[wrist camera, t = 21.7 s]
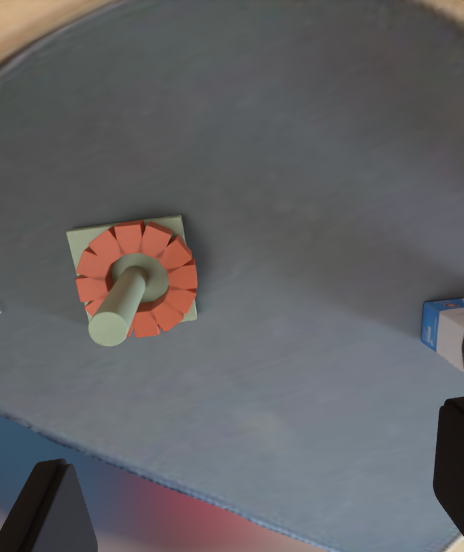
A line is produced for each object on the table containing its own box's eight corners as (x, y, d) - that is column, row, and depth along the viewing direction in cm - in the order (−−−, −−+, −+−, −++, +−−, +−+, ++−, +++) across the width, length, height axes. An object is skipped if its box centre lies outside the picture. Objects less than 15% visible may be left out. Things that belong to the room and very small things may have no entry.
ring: (73, 227, 31) (63, 232, 29) (188, 214, 32) (188, 218, 30) (97, 332, 34) (90, 344, 32) (202, 318, 35) (203, 329, 32)
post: (71, 228, 33) (0, 263, 21) (181, 214, 33) (174, 240, 21) (96, 329, 36) (47, 410, 24) (197, 313, 36) (199, 385, 24)
